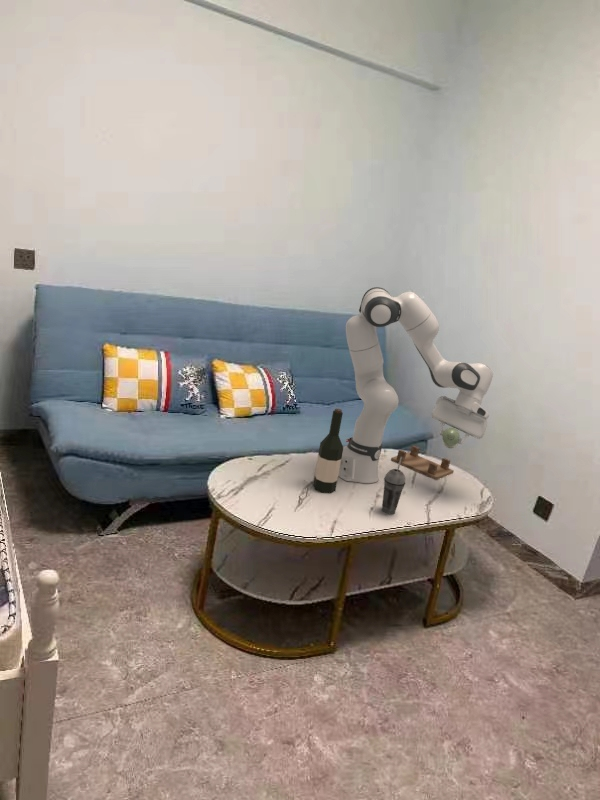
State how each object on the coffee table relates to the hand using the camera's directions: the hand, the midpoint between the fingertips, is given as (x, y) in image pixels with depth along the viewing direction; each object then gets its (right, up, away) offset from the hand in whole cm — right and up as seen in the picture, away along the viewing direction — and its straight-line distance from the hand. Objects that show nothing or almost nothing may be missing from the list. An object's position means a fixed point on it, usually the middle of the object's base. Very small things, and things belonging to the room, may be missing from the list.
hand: (450, 439), depth 228 cm
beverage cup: (-25, -24, -14) cm, 37 cm away
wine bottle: (-46, -18, -4) cm, 50 cm away
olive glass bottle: (+2, -1, +8) cm, 9 cm away
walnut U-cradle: (-4, -14, +32) cm, 35 cm away
